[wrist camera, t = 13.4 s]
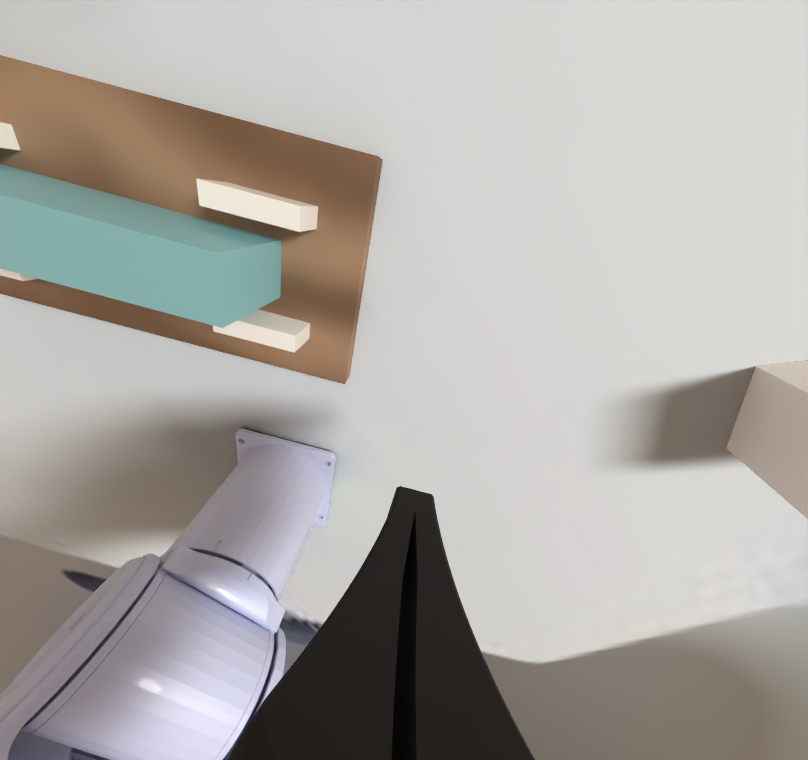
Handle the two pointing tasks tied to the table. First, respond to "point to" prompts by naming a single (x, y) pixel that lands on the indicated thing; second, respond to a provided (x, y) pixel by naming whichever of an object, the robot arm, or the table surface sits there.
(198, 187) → the end caps
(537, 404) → the table surface
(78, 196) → the slat
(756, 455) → the beige cube
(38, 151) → the walnut board
